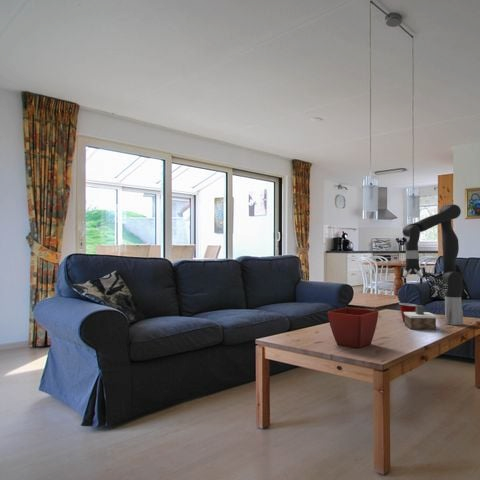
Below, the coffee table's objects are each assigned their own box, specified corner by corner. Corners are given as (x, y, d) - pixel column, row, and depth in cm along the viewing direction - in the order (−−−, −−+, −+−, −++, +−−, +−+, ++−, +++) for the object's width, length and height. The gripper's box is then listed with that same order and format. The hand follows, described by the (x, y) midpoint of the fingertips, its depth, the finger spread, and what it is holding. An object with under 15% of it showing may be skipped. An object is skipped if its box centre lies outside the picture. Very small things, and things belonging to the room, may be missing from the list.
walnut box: (428, 325, 258) (428, 314, 258) (436, 330, 244) (435, 318, 244) (404, 325, 260) (404, 313, 260) (411, 329, 246) (411, 317, 246)
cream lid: (428, 315, 259) (428, 304, 259) (437, 319, 244) (436, 307, 244) (403, 315, 260) (403, 303, 261) (410, 319, 246) (410, 307, 246)
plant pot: (326, 344, 211) (326, 311, 211) (346, 338, 225) (346, 307, 225) (360, 351, 198) (360, 315, 198) (380, 344, 211) (379, 310, 211)
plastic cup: (420, 323, 265) (419, 304, 265) (403, 323, 265) (402, 304, 265) (413, 320, 275) (413, 302, 276) (396, 320, 276) (396, 302, 276)
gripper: (424, 257, 257) (425, 283, 256) (399, 257, 261) (400, 283, 260) (425, 257, 249) (426, 284, 249) (400, 258, 254) (401, 285, 253)
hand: (413, 284), depth 255 cm, fingers open, 8 cm apart
